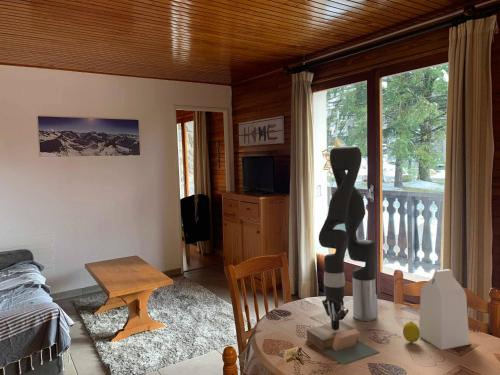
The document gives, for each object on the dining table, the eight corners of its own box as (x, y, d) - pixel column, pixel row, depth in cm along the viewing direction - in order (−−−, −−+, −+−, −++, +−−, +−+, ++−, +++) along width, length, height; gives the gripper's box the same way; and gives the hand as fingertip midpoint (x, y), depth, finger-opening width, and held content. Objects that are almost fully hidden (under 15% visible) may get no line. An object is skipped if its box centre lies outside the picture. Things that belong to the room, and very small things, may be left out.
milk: (441, 349, 133) (441, 276, 131) (418, 335, 144) (418, 268, 142) (469, 344, 136) (469, 272, 134) (444, 330, 147) (444, 264, 145)
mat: (359, 341, 141) (359, 340, 141) (379, 352, 132) (379, 351, 132) (324, 351, 134) (324, 350, 134) (342, 364, 125) (342, 363, 125)
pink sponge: (355, 328, 137) (359, 332, 135) (351, 340, 139) (355, 345, 137) (335, 334, 133) (339, 338, 131) (331, 346, 135) (335, 351, 134)
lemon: (418, 340, 140) (418, 319, 139) (420, 347, 135) (420, 325, 134) (402, 338, 142) (402, 317, 141) (403, 345, 136) (403, 323, 136)
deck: (340, 330, 150) (340, 320, 150) (358, 340, 141) (358, 330, 141) (307, 340, 143) (306, 329, 143) (323, 351, 134) (323, 340, 134)
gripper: (354, 286, 135) (355, 334, 136) (331, 277, 147) (332, 320, 148) (337, 290, 132) (338, 338, 133) (315, 280, 143) (316, 324, 145)
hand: (335, 329), depth 140 cm, fingers closed
